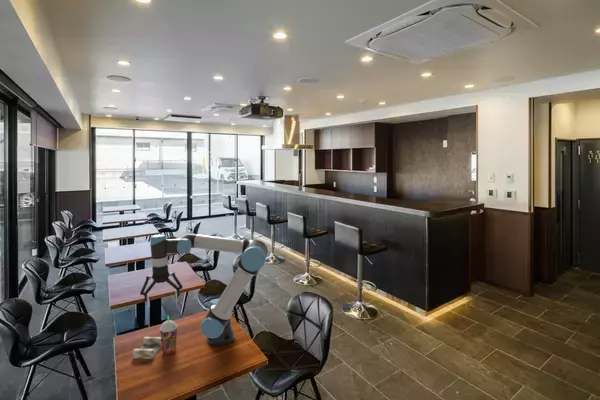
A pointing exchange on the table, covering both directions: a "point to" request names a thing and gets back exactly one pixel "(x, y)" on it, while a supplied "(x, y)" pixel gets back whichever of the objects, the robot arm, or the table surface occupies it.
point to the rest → (148, 348)
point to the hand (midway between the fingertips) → (162, 304)
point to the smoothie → (168, 336)
